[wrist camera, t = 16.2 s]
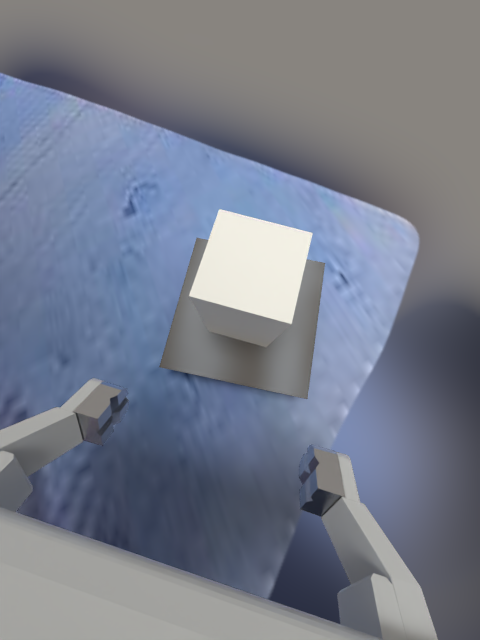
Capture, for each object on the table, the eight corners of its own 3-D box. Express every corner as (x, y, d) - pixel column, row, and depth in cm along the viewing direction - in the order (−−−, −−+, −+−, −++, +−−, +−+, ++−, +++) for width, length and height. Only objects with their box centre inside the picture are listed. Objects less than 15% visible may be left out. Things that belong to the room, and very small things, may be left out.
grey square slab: (173, 368, 21) (159, 367, 17) (203, 261, 23) (196, 237, 20) (293, 394, 20) (307, 399, 17) (310, 282, 23) (324, 263, 19)
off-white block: (208, 331, 18) (188, 295, 10) (225, 278, 19) (219, 209, 11) (266, 347, 17) (291, 324, 10) (279, 293, 18) (312, 233, 11)
